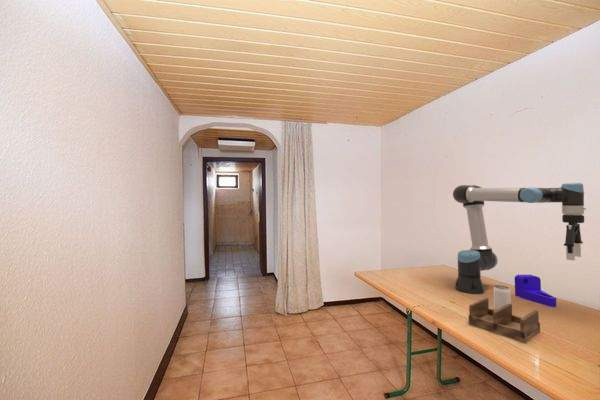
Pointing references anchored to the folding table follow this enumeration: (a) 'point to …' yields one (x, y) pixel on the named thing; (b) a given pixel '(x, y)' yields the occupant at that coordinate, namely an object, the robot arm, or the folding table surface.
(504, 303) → the can
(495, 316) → the rack
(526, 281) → the bracket
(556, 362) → the folding table surface
